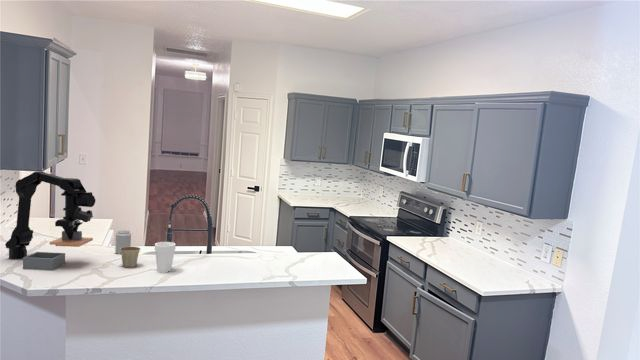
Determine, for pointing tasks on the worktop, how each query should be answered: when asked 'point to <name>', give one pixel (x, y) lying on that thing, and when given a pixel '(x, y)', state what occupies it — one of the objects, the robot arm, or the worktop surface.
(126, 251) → the flower pot
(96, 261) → the worktop surface
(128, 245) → the can
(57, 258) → the storage box
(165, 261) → the foam cup
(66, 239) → the lid
